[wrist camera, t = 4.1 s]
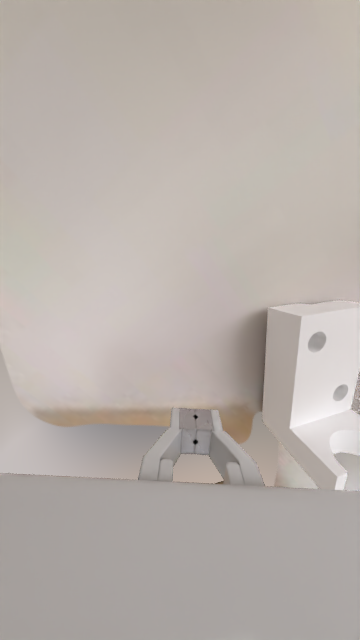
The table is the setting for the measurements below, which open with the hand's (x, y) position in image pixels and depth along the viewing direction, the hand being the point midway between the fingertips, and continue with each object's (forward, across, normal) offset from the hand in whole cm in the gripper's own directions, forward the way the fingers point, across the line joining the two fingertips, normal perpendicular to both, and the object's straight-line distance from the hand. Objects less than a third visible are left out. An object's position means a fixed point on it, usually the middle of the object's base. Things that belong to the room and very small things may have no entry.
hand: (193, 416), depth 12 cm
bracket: (+8, -12, 0) cm, 14 cm away
